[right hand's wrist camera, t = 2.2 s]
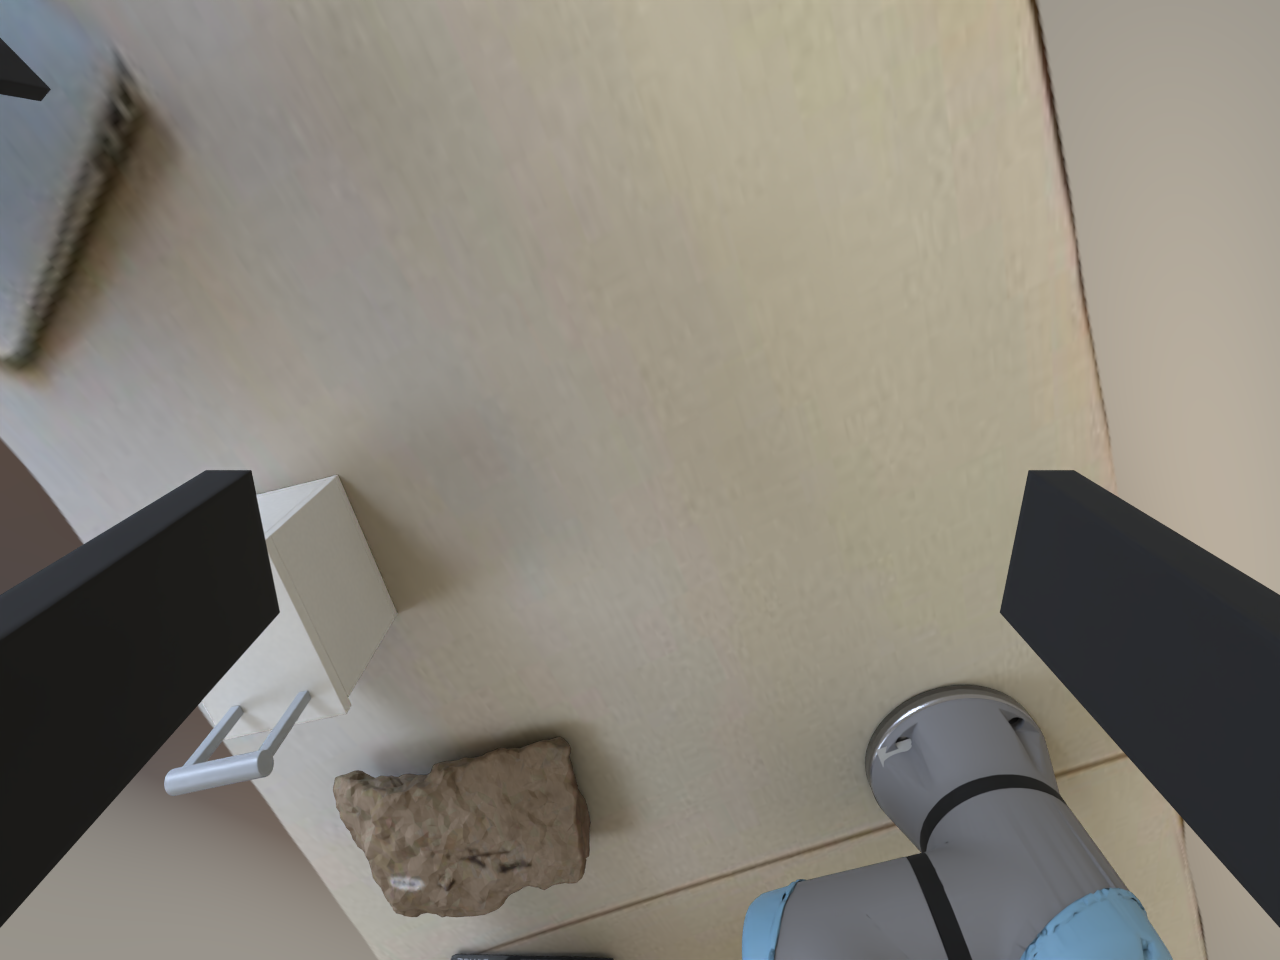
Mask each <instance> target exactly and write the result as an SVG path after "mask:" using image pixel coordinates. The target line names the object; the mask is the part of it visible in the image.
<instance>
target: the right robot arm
mask: <svg viewBox="0 0 1280 960" xmlns="http://www.w3.org/2000/svg"><path fill="white" fill-rule="evenodd" d="M279 613H280V610H279V605H278V600H277V595H276V590H275V585H274V580H273V575H272V570H271V565H270V560H269V555H268V550H267V545H266V540H265V536H264V531H263V526H262V521H261V516H260V511H259V506H258V501H257V496H256V491H255V486H254V481H253V476H252V471H251V470H206V471H204V472H202V473H201V474H199V475H198V476H196V477H194V478H193V479H191V480H189V481H188V482H186V483H184V484H183V485H181V486H179V487H178V488H176V489H174V490H173V491H171V492H169V493H168V494H166V495H165V496H163V497H161V498H160V499H158V500H156V501H155V502H153V503H151V504H150V505H148V506H146V507H145V508H143V509H141V510H140V511H138V512H136V513H135V514H133V515H132V516H130V517H128V518H127V519H125V520H123V521H122V522H120V523H118V524H117V525H115V526H113V527H112V528H110V529H108V530H107V531H105V532H103V533H102V534H100V535H99V536H97V537H95V538H94V539H92V540H90V541H89V542H87V543H85V544H84V545H82V546H80V547H79V548H77V549H75V550H74V551H72V552H71V553H69V554H67V555H66V556H64V557H62V558H61V559H59V560H57V561H56V562H54V563H52V564H51V565H49V566H47V567H46V568H44V569H42V570H41V571H39V572H37V573H36V574H34V575H33V576H31V577H29V578H28V579H26V580H24V581H23V582H21V583H19V584H18V585H16V586H14V587H13V588H11V589H10V590H8V591H6V592H5V593H3V594H1V595H0V927H1V926H2V925H3V924H4V923H5V922H6V921H7V919H8V918H9V917H10V916H11V915H12V914H13V913H14V912H15V910H16V909H17V908H18V907H19V906H20V905H21V904H22V903H23V901H24V900H25V899H26V898H27V897H28V896H29V895H30V894H31V892H32V891H33V890H34V889H35V888H36V887H37V886H38V885H39V883H40V882H41V881H42V880H43V879H44V878H45V877H46V876H47V874H48V873H49V872H50V871H51V870H52V869H53V868H54V867H55V865H56V864H57V863H58V862H59V861H60V860H61V859H62V858H63V856H64V855H65V854H66V853H67V852H68V851H69V850H70V849H71V847H72V846H73V845H74V844H75V843H76V842H77V841H78V839H79V838H80V837H81V836H82V835H83V834H84V833H85V832H86V831H87V829H88V828H89V827H90V826H91V825H92V824H93V823H94V822H95V820H96V819H97V818H98V817H99V816H100V815H101V814H102V812H103V811H104V810H105V809H106V808H107V807H108V806H109V805H110V803H111V802H112V801H113V800H114V799H115V798H116V797H117V796H118V794H119V793H120V792H121V791H122V790H123V789H124V788H125V787H126V785H127V784H128V783H129V782H130V781H131V780H132V779H133V778H134V776H135V775H136V774H137V773H138V772H139V771H140V770H141V769H142V767H143V766H144V765H145V764H146V763H147V762H148V761H149V760H150V758H151V757H152V756H153V755H154V754H155V753H156V752H157V751H158V749H159V748H160V747H161V746H162V745H163V744H164V743H165V742H166V740H167V739H168V738H169V737H170V736H171V735H172V734H173V733H174V731H175V730H176V729H177V728H178V727H179V726H180V725H181V724H182V722H183V721H184V720H185V719H186V718H187V717H188V716H189V715H190V713H191V712H192V711H193V710H194V709H195V708H196V707H197V706H198V704H199V703H200V702H201V701H202V700H203V699H204V698H205V697H206V695H207V694H208V693H209V692H210V691H211V690H212V689H213V688H214V686H215V685H216V684H217V683H218V682H219V681H220V680H221V679H222V677H223V676H224V675H225V674H226V673H227V672H228V671H229V669H230V668H231V667H232V666H233V665H234V664H235V663H236V662H237V660H238V659H239V658H240V657H241V656H242V655H243V654H244V653H245V651H246V650H247V649H248V648H249V647H250V646H251V645H252V644H253V642H254V641H255V640H256V639H257V638H258V637H259V636H260V635H261V633H262V632H263V631H264V630H265V629H266V628H267V627H268V626H269V624H270V623H271V622H272V621H273V620H274V619H275V618H276V617H277V615H278V614H279ZM1000 613H1001V614H1002V615H1003V617H1004V618H1005V619H1006V620H1007V621H1008V622H1009V623H1010V624H1011V626H1012V627H1013V628H1014V629H1015V630H1016V631H1017V632H1018V633H1019V635H1020V636H1021V637H1022V638H1023V639H1024V640H1025V641H1026V642H1027V644H1028V645H1029V646H1030V647H1031V648H1032V649H1033V650H1034V651H1035V653H1036V654H1037V655H1038V656H1039V657H1040V658H1041V659H1042V660H1043V662H1044V663H1045V664H1046V665H1047V666H1048V667H1049V668H1050V669H1051V671H1052V672H1053V673H1054V674H1055V675H1056V676H1057V677H1058V679H1059V680H1060V681H1061V682H1062V683H1063V684H1064V685H1065V686H1066V688H1067V689H1068V690H1069V691H1070V692H1071V693H1072V694H1073V695H1074V697H1075V698H1076V699H1077V700H1078V701H1079V702H1080V703H1081V704H1082V706H1083V707H1084V708H1085V709H1086V710H1087V711H1088V712H1089V713H1090V715H1091V716H1092V717H1093V718H1094V719H1095V720H1096V721H1097V722H1098V724H1099V725H1100V726H1101V727H1102V728H1103V729H1104V730H1105V731H1106V733H1107V734H1108V735H1109V736H1110V737H1111V738H1112V739H1113V740H1114V742H1115V743H1116V744H1117V745H1118V746H1119V747H1120V748H1121V749H1122V751H1123V752H1124V753H1125V754H1126V755H1127V756H1128V757H1129V758H1130V760H1131V761H1132V762H1133V763H1134V764H1135V765H1136V766H1137V767H1138V769H1139V770H1140V771H1141V772H1142V773H1143V774H1144V775H1145V776H1146V778H1147V779H1148V780H1149V781H1150V782H1151V783H1152V784H1153V785H1154V787H1155V788H1156V789H1157V790H1158V791H1159V792H1160V793H1161V794H1162V796H1163V797H1164V798H1165V799H1166V800H1167V801H1168V802H1169V803H1170V805H1171V806H1172V807H1173V808H1174V809H1175V810H1176V811H1177V813H1178V814H1179V815H1180V816H1181V817H1182V818H1183V819H1184V820H1185V822H1186V823H1187V824H1188V825H1189V826H1190V827H1191V828H1192V829H1193V830H1194V832H1195V833H1196V834H1197V835H1198V836H1199V837H1200V838H1201V839H1202V841H1203V842H1204V843H1205V844H1206V845H1207V846H1208V847H1209V849H1210V850H1211V851H1212V852H1213V853H1214V854H1215V855H1216V856H1217V858H1218V859H1219V860H1220V861H1221V862H1222V863H1223V864H1224V865H1225V866H1226V868H1227V869H1228V870H1229V871H1230V872H1231V873H1232V874H1233V876H1234V877H1235V878H1236V879H1237V880H1238V881H1239V882H1240V883H1241V885H1242V886H1243V887H1244V888H1245V889H1246V890H1247V891H1248V892H1249V894H1250V895H1251V896H1252V897H1253V898H1254V899H1255V900H1256V901H1257V903H1258V904H1259V905H1260V906H1261V907H1262V908H1263V909H1264V910H1265V912H1266V913H1267V914H1268V915H1269V916H1270V917H1271V918H1272V919H1273V921H1274V922H1275V923H1276V924H1277V925H1278V926H1279V927H1280V595H1279V594H1277V593H1275V592H1274V591H1272V590H1271V589H1269V588H1267V587H1266V586H1264V585H1262V584H1261V583H1259V582H1257V581H1256V580H1254V579H1252V578H1251V577H1249V576H1247V575H1246V574H1244V573H1242V572H1241V571H1239V570H1238V569H1236V568H1234V567H1233V566H1231V565H1229V564H1228V563H1226V562H1224V561H1223V560H1221V559H1219V558H1218V557H1216V556H1214V555H1213V554H1211V553H1210V552H1208V551H1206V550H1205V549H1203V548H1201V547H1200V546H1198V545H1196V544H1195V543H1193V542H1191V541H1190V540H1188V539H1186V538H1185V537H1183V536H1181V535H1180V534H1178V533H1177V532H1175V531H1173V530H1172V529H1170V528H1168V527H1167V526H1165V525H1163V524H1162V523H1160V522H1158V521H1157V520H1155V519H1153V518H1152V517H1150V516H1148V515H1147V514H1145V513H1144V512H1142V511H1140V510H1139V509H1137V508H1135V507H1134V506H1132V505H1130V504H1129V503H1127V502H1125V501H1124V500H1122V499H1120V498H1119V497H1117V496H1115V495H1114V494H1112V493H1111V492H1109V491H1107V490H1106V489H1104V488H1102V487H1101V486H1099V485H1097V484H1096V483H1094V482H1092V481H1091V480H1089V479H1087V478H1086V477H1084V476H1082V475H1081V474H1079V473H1078V472H1076V471H1074V470H1029V471H1028V476H1027V481H1026V486H1025V491H1024V496H1023V501H1022V506H1021V511H1020V516H1019V521H1018V526H1017V531H1016V535H1015V540H1014V545H1013V550H1012V555H1011V560H1010V565H1009V570H1008V575H1007V580H1006V585H1005V590H1004V595H1003V600H1002V605H1001V610H1000ZM865 769H866V775H867V779H868V781H869V784H870V787H871V789H872V792H873V794H874V797H875V799H876V801H877V803H878V804H879V806H880V807H881V809H882V810H883V811H884V812H885V814H886V815H887V816H888V817H889V818H890V819H891V820H892V821H893V822H894V823H895V824H896V826H897V827H898V828H899V829H900V830H901V831H902V832H903V833H904V834H905V835H906V836H907V837H908V838H909V840H910V841H911V842H912V843H913V844H914V845H915V846H916V847H917V848H918V849H919V850H920V851H921V853H920V854H916V855H912V856H908V857H902V858H898V859H894V860H890V861H885V862H881V863H877V864H873V865H869V866H864V867H860V868H856V869H852V870H848V871H843V872H839V873H835V874H831V875H826V876H822V877H818V878H814V879H810V880H805V879H799V880H796V881H795V882H792V883H791V884H790V885H789V886H786V887H783V888H779V889H776V890H773V891H769V892H766V893H763V894H761V895H760V896H759V897H757V898H756V899H755V900H754V901H753V902H752V903H751V905H750V906H749V908H748V911H747V913H746V916H745V920H744V926H743V935H742V960H1173V959H1172V957H1171V955H1170V953H1169V951H1168V949H1167V948H1166V946H1165V945H1164V943H1163V941H1162V940H1161V938H1160V937H1159V935H1158V934H1157V932H1156V931H1155V929H1154V928H1153V926H1152V925H1151V923H1150V922H1149V920H1148V918H1147V913H1146V911H1145V909H1144V907H1143V906H1142V904H1141V902H1140V901H1139V900H1138V899H1137V897H1136V896H1135V895H1134V894H1133V893H1132V892H1130V891H1129V890H1128V888H1127V887H1126V885H1125V884H1124V883H1123V881H1122V880H1121V879H1120V877H1119V876H1118V874H1117V873H1116V872H1115V870H1114V869H1113V868H1112V866H1111V865H1110V863H1109V862H1108V861H1107V859H1106V858H1105V856H1104V855H1103V854H1102V852H1101V851H1100V850H1099V848H1098V847H1097V845H1096V844H1095V843H1094V841H1093V840H1092V839H1091V837H1090V836H1089V834H1088V833H1087V832H1086V830H1085V829H1084V827H1083V826H1082V825H1081V823H1080V822H1079V821H1078V819H1077V818H1076V816H1075V815H1074V814H1073V812H1072V811H1071V810H1070V808H1069V807H1068V806H1067V804H1066V803H1065V801H1064V800H1063V799H1062V797H1061V795H1060V794H1059V790H1058V786H1057V783H1056V779H1055V775H1054V771H1053V768H1052V764H1051V760H1050V756H1049V753H1048V749H1047V745H1046V741H1045V739H1044V736H1043V734H1042V732H1041V730H1040V728H1039V727H1038V726H1037V724H1036V723H1035V722H1034V720H1033V719H1032V718H1031V716H1030V715H1029V714H1028V712H1027V711H1026V710H1025V709H1024V708H1023V707H1022V706H1021V705H1020V704H1019V703H1018V702H1017V701H1016V700H1014V699H1013V698H1011V697H1010V696H1008V695H1006V694H1004V693H1002V692H999V691H997V690H994V689H991V688H987V687H982V686H974V685H954V686H946V687H941V688H937V689H933V690H930V691H927V692H924V693H922V694H919V695H917V696H915V697H913V698H911V699H909V700H907V701H906V702H904V703H903V704H901V705H900V706H898V707H897V708H896V709H894V710H893V711H892V712H891V713H890V714H889V715H888V716H887V717H886V718H885V719H884V720H883V721H882V722H881V723H880V725H879V726H878V727H877V729H876V730H875V732H874V734H873V736H872V737H871V740H870V742H869V745H868V748H867V752H866V757H865Z"/></svg>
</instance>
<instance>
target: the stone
mask: <svg viewBox="0 0 1280 960" xmlns="http://www.w3.org/2000/svg"><path fill="white" fill-rule="evenodd" d="M570 752H571V748H570V746H569V744H568V742H567V741H565V740H564V739H563V738H561V737H556V738H553V739H550V740H541V741H538V742H535V743H532V744H529V745H526V746H524V747H522V748H511V749H506V748H501V747H500V748H498V749H496V750H494V751H491V752H487V753H486V754H484V755H483V756H479V757H475V758H467V757H464V758H462V759H459V760H455V761H444V762H440V763H437V764H434V765H433V767H432V770H431V772H430V773H429V774H428V775H414V774H405V775H402V776H400V777H393V776H379V777H377V778H374V777H371V776H370V775H368V774H366V773H364V772H363V771H353V772H351V773H348V774H346V775H341V776H338V777H336V778H335V782H334V787H333V792H334V796H335V799H336V808H337V809H338V811H339V812H340V818H341V820H342V821H343V822H344V824H345V826H346V828H347V829H348V830H349V831H350V833H351V835H352V838H353V840H354V841H355V842H356V844H357V846H358V847H359V848H360V849H362V850H363V851H364V852H365V856H366V857H367V859H368V860H369V863H370V867H371V871H372V876H373V878H374V880H375V881H376V883H377V884H378V885H379V886H380V887H381V889H382V891H383V893H384V895H385V897H386V899H387V901H388V902H389V903H390V905H391V906H392V907H393V910H394V911H395V912H396V913H398V914H402V915H404V916H409V917H418V916H419V915H420V914H423V913H431V914H437V915H439V916H441V917H445V916H449V917H464V916H479V915H485V914H487V913H490V912H492V911H495V910H497V909H498V908H500V907H501V906H502V905H503V904H504V902H505V900H506V899H507V897H508V896H509V895H510V894H512V893H514V892H517V891H519V890H520V889H522V888H523V887H526V886H533V887H538V888H540V889H543V890H545V889H547V888H549V887H550V886H552V885H555V884H561V883H576V882H578V881H579V880H580V879H581V878H582V877H583V875H584V873H585V866H586V858H587V857H589V830H590V817H589V812H588V809H587V804H586V802H585V799H584V797H583V796H582V795H581V793H580V791H579V790H578V785H577V782H576V778H575V774H574V771H573V766H572V762H571V760H570V757H569V755H570Z"/></svg>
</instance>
